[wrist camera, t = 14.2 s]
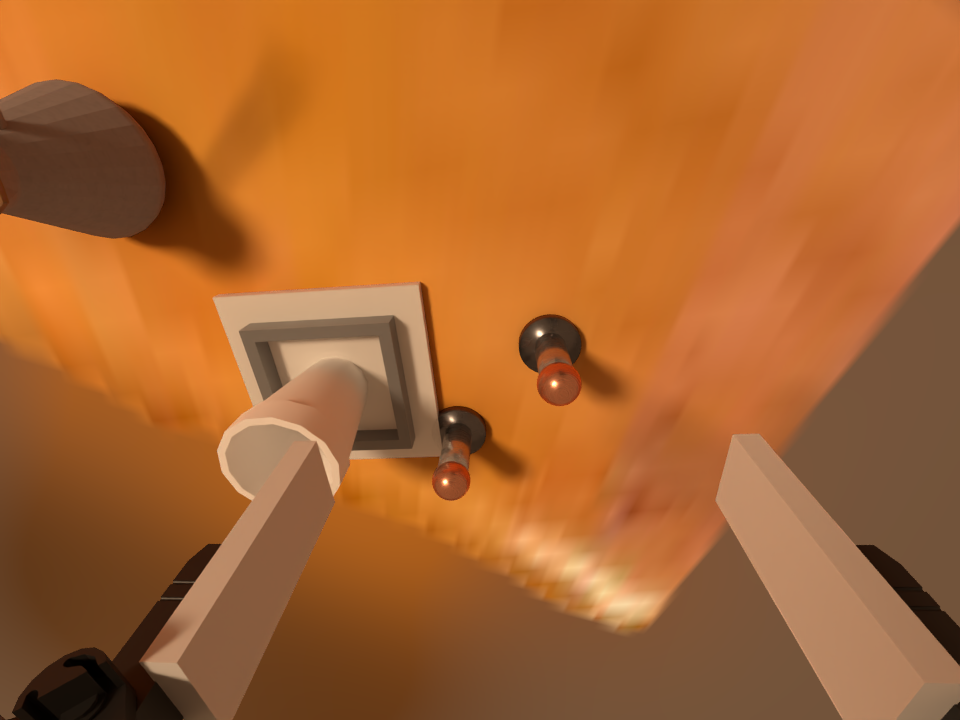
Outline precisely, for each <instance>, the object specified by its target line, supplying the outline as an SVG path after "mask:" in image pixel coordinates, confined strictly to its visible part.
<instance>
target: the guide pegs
mask: <svg viewBox="0 0 960 720" xmlns="http://www.w3.org/2000/svg"><path fill="white" fill-rule="evenodd" d="M580 351H581V339H580V336H579V333H578V331H577V329H576V327H575V326H574V324H573V323H572V322H571V321H569V320H568V319H566V318H564V317H562V316H559V315H551V314H549V315H543V316H539V317H537V318H535V319H533V320H531V321H530V322H529V323H528V324H527V325H526V326H525V327H524V329H523V330H522V332H521V334H520V337H519V352H520V356H521V358H522V360H523V362H524V363H525V364H526V365H527V366H528V367H529V368H530V369H532V370H534V371H536V372H538V373H539V376H538V379H537V389H538V392H539V394H540V396H541V397H542V398H543V399H544V400H545V401H546V402H547V403H549V404H551V405H555V406H564V405H568V404H570V403H572V402H573V401H574V400H575V399H576V398H577V397H578V395H579V393H580V391H581V385H582V383H581V378H580V375H579V373H578V372H577V370H576V369H575V368H574V367H573V363H574V362H575V361H576V360H577V358H578V356H579V354H580ZM436 420H437V419H436ZM438 422H439V424H438V425H439V429H440V436H441V443H442V449H441V454H440V459H439V464H438V467H437V468H436V470H435V472H434V474H433V477H432V485H433V488H434V490H435V492H436V493H437V495H438V496H439V497H441V498H443V499H445V500H449V501H452V500H457V499H459V498H461V497H463V496H464V495H465V494H466V492H467V491H468V489H469V486H470V474H469V472H468V469H469V459H470V454H472V453H474V452H476V451H477V450H479V449H480V448H481V447H482V445H483V443H484V441H485V437H486V425H485V422H484V420H483V419H482V417H481V416H480V415H479V414H478V413H477V412H475V411H474V410H472V409H470V408H467V407H462V406H454V407H449V408H446V409H444V410H442V411H441V412H440V413H439V415H438ZM434 425H435V424H434ZM434 425H433V426H434ZM435 430H436V429H435ZM436 432H437V430H436ZM437 433H438V432H437ZM437 433H436V434H437ZM436 434H435V435H436ZM433 435H434V432H433ZM433 435H432V436H433ZM437 439H438V438H437ZM439 441H440V440H439ZM440 445H441V444H440Z"/></svg>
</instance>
